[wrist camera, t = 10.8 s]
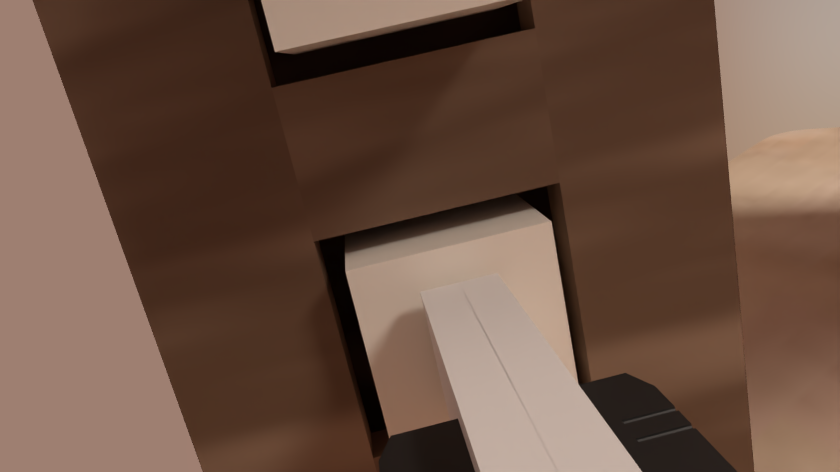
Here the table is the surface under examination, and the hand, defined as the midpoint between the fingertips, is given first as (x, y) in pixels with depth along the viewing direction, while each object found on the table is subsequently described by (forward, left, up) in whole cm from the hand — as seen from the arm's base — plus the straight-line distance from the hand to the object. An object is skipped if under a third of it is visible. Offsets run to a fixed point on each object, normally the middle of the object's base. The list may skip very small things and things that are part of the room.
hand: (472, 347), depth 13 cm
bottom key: (+1, -2, -2) cm, 3 cm away
